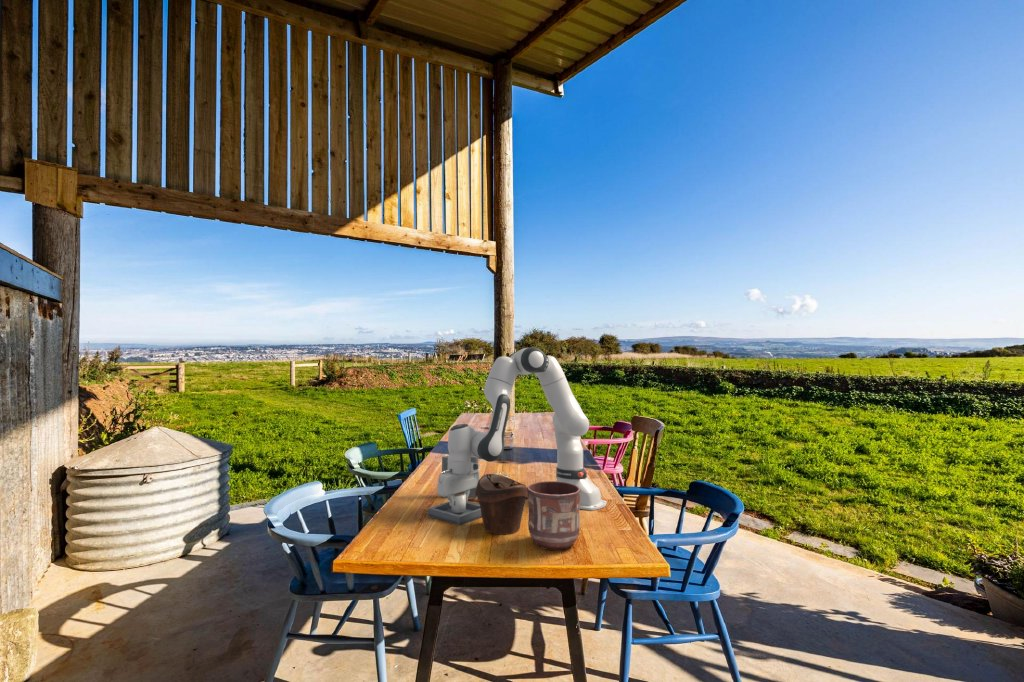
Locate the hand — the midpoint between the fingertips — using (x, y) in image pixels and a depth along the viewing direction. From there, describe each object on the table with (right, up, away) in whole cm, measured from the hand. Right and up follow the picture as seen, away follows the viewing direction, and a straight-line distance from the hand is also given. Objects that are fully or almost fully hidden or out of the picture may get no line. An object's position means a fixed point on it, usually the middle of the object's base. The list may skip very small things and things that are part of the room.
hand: (458, 503), depth 183 cm
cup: (0, -3, 0) cm, 3 cm away
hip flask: (-3, -6, +27) cm, 28 cm away
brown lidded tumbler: (+17, -4, -15) cm, 23 cm away
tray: (0, -5, 0) cm, 5 cm away
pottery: (+34, -3, -29) cm, 45 cm away
